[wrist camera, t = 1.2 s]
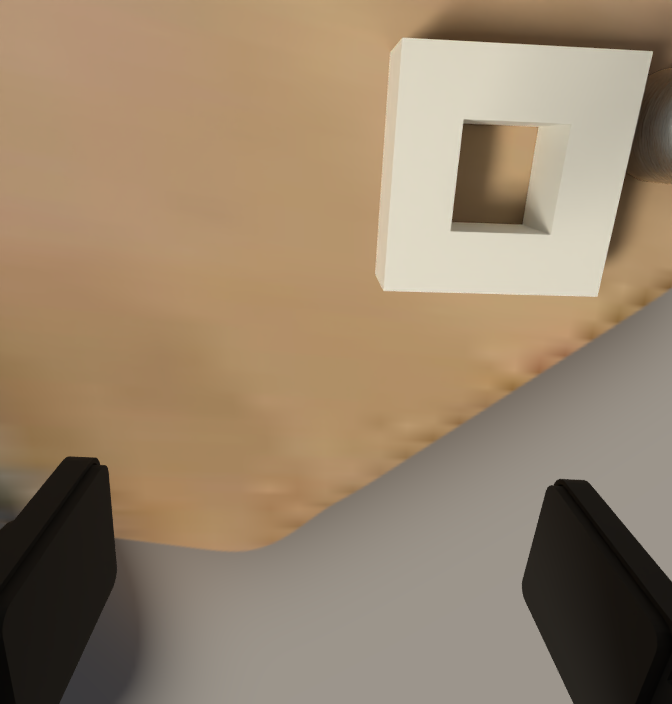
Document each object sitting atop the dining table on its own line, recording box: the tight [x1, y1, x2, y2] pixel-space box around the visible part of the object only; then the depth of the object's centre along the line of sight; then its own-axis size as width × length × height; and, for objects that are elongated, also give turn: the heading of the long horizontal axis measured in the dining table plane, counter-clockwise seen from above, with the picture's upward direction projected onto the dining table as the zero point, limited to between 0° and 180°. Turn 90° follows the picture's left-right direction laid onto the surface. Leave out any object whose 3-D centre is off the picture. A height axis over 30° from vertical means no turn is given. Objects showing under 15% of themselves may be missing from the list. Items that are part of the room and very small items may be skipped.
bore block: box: [375, 38, 653, 297], centre depth 28 cm, size 12×12×4 cm
